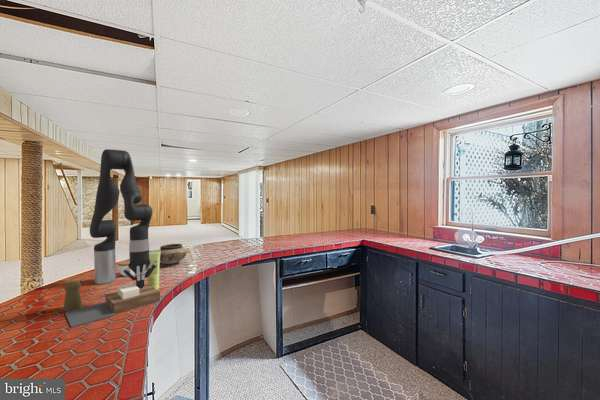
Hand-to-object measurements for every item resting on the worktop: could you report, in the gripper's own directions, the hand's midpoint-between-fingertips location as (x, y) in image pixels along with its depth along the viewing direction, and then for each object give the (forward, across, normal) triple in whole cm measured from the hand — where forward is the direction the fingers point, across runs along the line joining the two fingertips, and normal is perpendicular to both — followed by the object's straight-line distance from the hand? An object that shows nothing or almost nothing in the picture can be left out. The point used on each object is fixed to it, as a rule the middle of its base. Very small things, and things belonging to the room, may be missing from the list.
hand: (140, 288), depth 116 cm
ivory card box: (+2, +5, 0) cm, 5 cm away
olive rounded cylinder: (+6, +21, -13) cm, 25 cm away
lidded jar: (+6, -8, -46) cm, 48 cm away
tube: (+6, -9, -10) cm, 15 cm away
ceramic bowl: (+6, -34, -50) cm, 61 cm away
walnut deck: (+6, +3, 0) cm, 6 cm away
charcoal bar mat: (+6, +18, 0) cm, 19 cm away
